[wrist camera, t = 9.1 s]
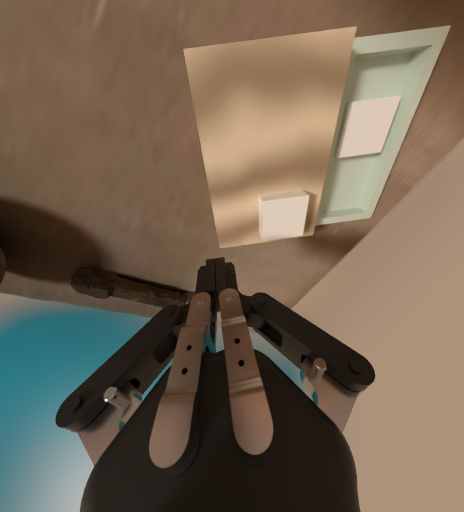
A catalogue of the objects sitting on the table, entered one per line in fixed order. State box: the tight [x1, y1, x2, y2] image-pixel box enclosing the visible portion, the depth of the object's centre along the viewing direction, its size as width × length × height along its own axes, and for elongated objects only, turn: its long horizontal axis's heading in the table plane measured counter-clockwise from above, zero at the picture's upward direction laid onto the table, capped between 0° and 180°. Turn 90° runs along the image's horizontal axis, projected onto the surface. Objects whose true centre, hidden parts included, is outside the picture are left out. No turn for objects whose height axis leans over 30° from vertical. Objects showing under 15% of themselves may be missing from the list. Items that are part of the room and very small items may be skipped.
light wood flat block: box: [183, 26, 357, 248], centre depth 20 cm, size 18×13×5 cm
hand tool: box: [71, 269, 187, 308], centre depth 31 cm, size 19×4×5 cm, turn 59°
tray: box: [315, 25, 451, 225], centre depth 21 cm, size 18×9×2 cm, turn 6°
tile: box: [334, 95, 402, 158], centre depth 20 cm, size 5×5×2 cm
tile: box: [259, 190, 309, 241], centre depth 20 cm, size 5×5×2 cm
